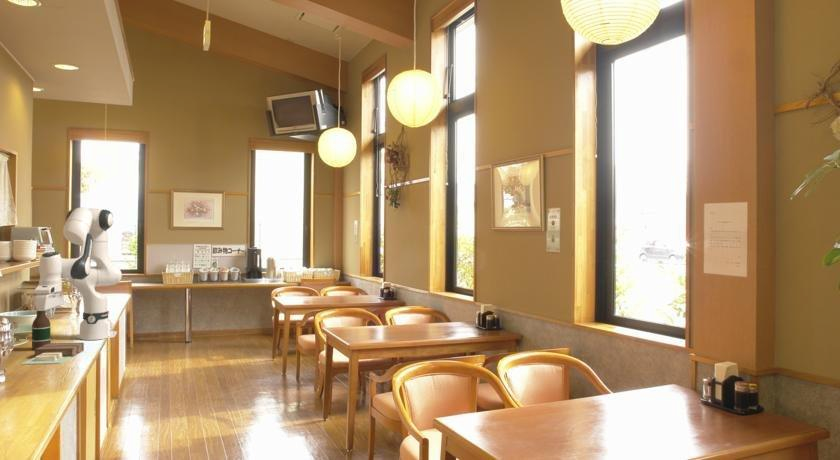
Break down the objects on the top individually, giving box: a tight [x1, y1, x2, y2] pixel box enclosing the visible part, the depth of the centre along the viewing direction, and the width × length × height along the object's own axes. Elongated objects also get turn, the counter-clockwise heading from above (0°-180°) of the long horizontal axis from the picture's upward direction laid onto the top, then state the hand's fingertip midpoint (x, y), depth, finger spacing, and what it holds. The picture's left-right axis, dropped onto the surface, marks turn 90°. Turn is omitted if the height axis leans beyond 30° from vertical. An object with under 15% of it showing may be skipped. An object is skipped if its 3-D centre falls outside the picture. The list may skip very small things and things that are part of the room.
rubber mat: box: [21, 357, 72, 366], centre depth 269 cm, size 12×16×1 cm
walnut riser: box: [34, 342, 85, 358], centre depth 282 cm, size 14×16×4 cm
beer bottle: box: [31, 310, 51, 351], centre depth 293 cm, size 8×8×24 cm
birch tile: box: [34, 352, 62, 361], centre depth 271 cm, size 8×8×2 cm
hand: (50, 317), depth 272 cm, fingers closed
